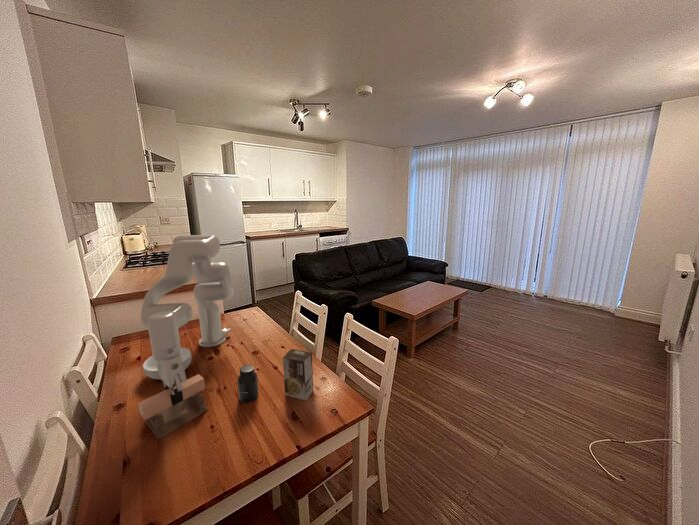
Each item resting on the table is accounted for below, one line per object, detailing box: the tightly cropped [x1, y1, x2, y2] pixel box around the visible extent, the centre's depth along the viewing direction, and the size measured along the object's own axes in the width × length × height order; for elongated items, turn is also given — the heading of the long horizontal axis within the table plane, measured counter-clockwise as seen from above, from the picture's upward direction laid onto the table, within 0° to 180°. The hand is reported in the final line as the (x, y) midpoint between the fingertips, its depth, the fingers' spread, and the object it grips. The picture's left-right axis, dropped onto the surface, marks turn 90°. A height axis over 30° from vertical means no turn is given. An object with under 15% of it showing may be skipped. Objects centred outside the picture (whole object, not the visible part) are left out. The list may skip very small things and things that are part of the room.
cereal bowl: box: [142, 347, 192, 380], centre depth 114 cm, size 17×17×7 cm
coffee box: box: [282, 348, 314, 401], centre depth 101 cm, size 9×6×16 cm
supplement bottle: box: [237, 364, 259, 404], centre depth 100 cm, size 7×7×12 cm
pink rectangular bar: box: [137, 373, 206, 421], centre depth 90 cm, size 18×4×4 cm, turn 143°
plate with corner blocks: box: [144, 392, 209, 440], centre depth 91 cm, size 15×11×6 cm
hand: (174, 399), depth 90 cm, fingers closed on pink rectangular bar, 4 cm apart
